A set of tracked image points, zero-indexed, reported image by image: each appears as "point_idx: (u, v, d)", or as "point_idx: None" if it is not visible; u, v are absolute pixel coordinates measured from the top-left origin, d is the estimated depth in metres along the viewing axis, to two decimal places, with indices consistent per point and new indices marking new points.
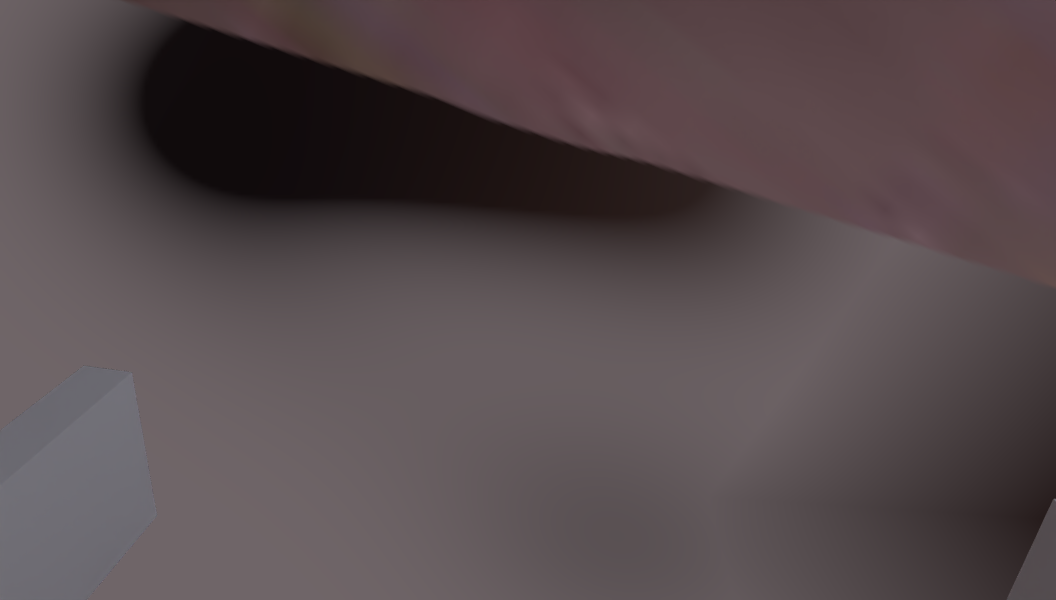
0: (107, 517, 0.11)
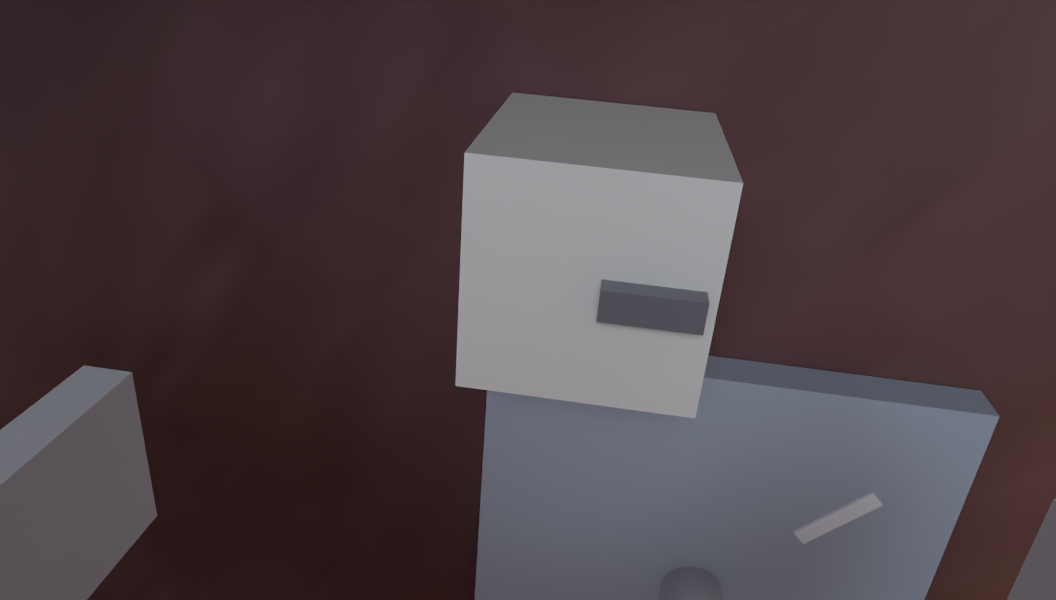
0: (107, 517, 0.11)
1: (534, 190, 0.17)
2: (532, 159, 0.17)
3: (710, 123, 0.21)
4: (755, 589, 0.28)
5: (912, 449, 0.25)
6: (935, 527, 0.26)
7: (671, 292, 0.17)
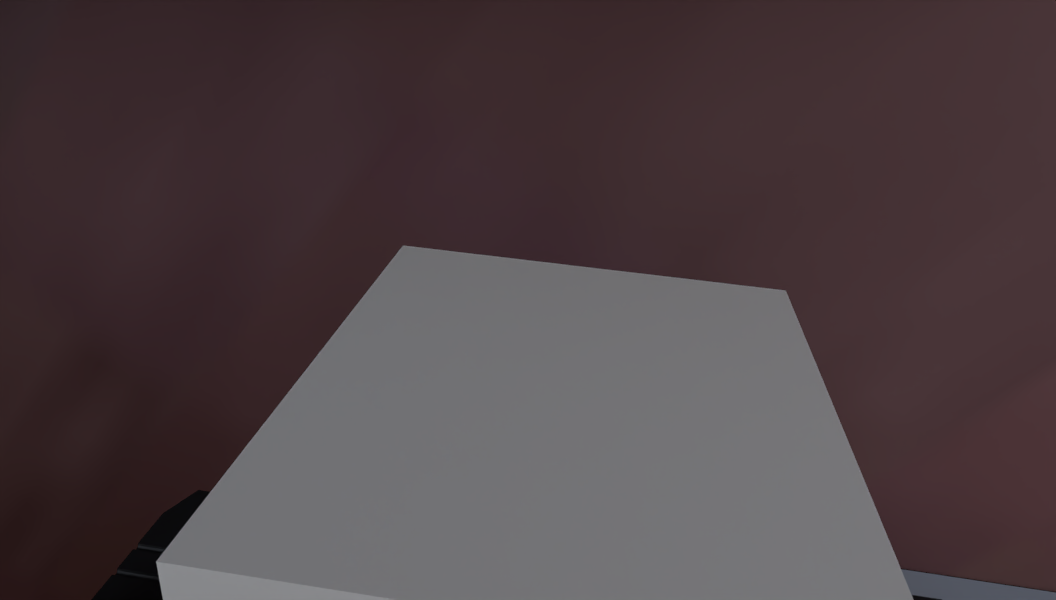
0: None
1: None
2: (342, 585, 0.06)
3: (784, 332, 0.11)
4: None
5: None
6: None
7: None
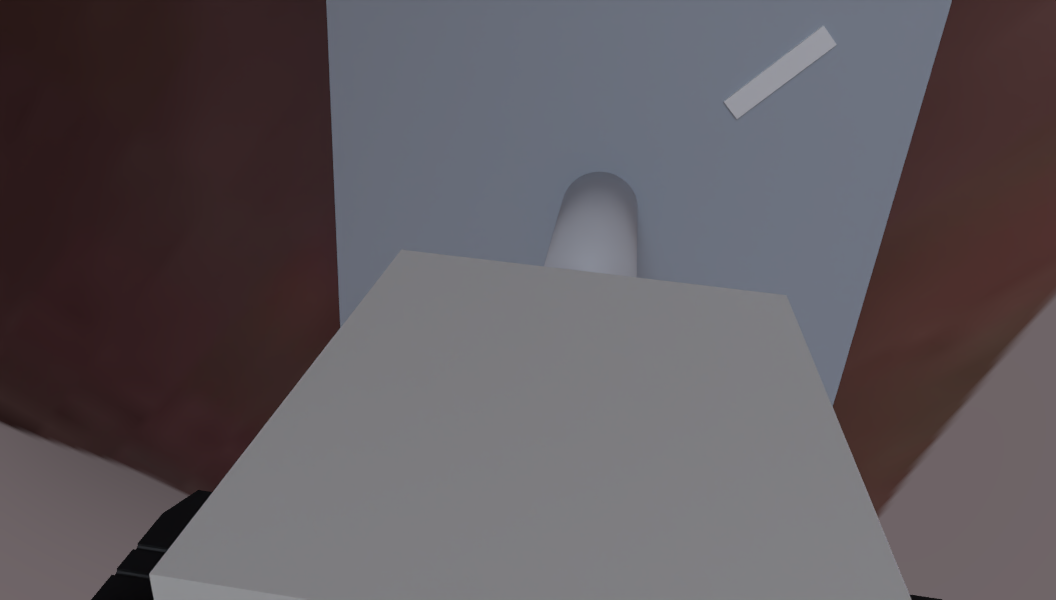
0: None
1: None
2: (338, 598, 0.06)
3: (785, 338, 0.10)
4: (680, 201, 0.22)
5: None
6: (905, 78, 0.20)
7: None
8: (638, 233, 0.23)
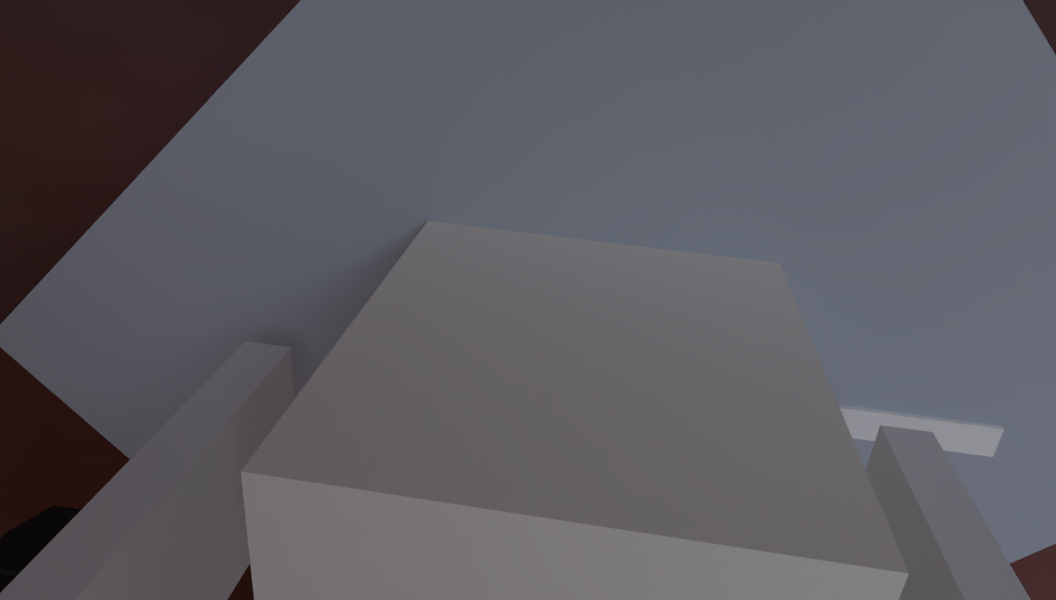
0: None
1: (409, 554, 0.07)
2: (399, 492, 0.07)
3: (777, 298, 0.12)
4: None
5: None
6: (1007, 538, 0.15)
7: None
8: None
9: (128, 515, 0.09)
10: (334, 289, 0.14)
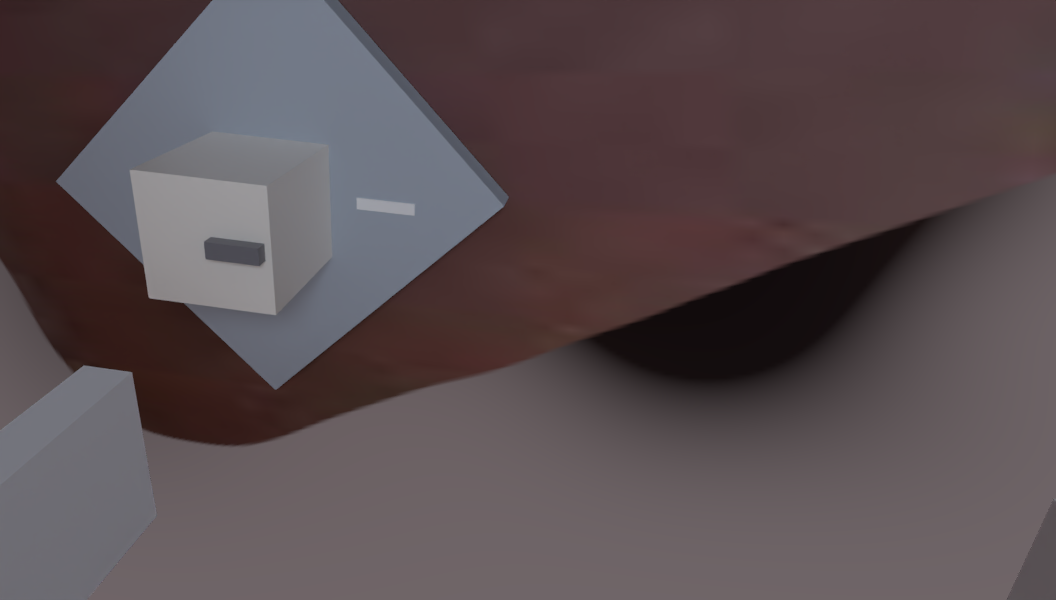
0: (107, 517, 0.11)
1: (167, 189, 0.33)
2: (163, 173, 0.32)
3: (311, 151, 0.37)
4: None
5: (451, 193, 0.38)
6: (431, 250, 0.40)
7: (242, 243, 0.33)
8: None
9: None
10: None
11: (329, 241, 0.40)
